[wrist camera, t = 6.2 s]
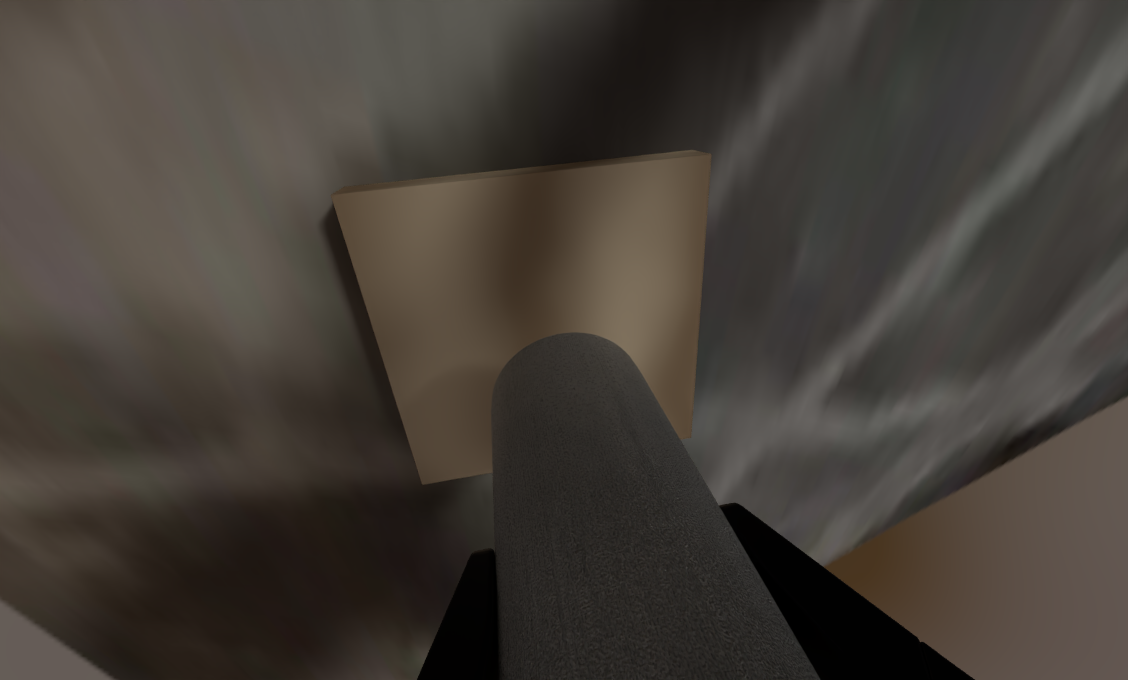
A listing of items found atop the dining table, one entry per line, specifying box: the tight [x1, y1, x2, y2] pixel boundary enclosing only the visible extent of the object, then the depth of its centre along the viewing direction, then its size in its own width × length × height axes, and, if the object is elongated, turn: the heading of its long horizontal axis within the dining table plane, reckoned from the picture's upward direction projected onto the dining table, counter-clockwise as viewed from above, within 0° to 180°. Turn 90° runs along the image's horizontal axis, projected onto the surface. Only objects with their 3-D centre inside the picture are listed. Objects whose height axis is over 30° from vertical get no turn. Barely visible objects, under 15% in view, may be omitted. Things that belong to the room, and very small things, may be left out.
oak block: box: [331, 150, 711, 485], centre depth 18 cm, size 12×12×2 cm
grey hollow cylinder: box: [491, 332, 820, 680], centre depth 9 cm, size 4×4×10 cm
